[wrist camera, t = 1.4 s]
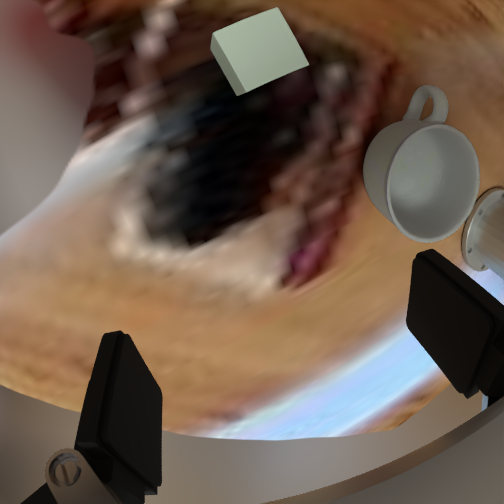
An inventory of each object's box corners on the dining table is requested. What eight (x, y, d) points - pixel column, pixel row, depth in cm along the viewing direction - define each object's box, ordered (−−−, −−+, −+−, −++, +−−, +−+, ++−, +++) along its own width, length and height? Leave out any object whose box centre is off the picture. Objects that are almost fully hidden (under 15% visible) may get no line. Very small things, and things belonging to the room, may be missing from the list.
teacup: (418, 219, 33) (461, 248, 26) (338, 208, 31) (376, 240, 24) (442, 104, 27) (494, 112, 20) (362, 73, 25) (411, 68, 18)
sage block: (261, 26, 22) (277, 7, 17) (287, 72, 24) (309, 64, 19) (210, 49, 22) (212, 32, 17) (236, 96, 25) (246, 92, 19)
